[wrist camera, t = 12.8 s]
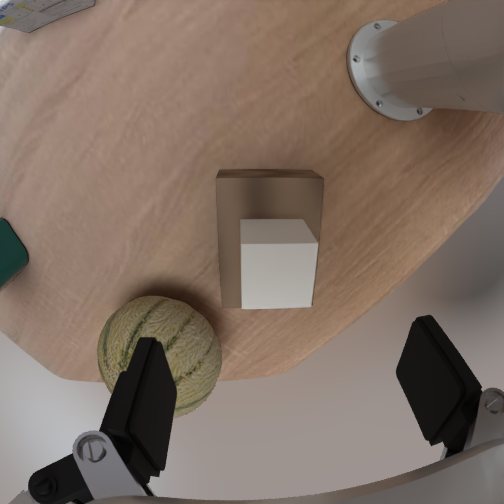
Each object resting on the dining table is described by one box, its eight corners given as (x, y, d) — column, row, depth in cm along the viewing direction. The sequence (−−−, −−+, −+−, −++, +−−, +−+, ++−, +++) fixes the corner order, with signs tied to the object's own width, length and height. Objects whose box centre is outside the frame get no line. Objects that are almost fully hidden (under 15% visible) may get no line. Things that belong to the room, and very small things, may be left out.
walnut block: (311, 170, 32) (323, 178, 27) (303, 282, 37) (312, 305, 33) (219, 170, 31) (215, 178, 27) (223, 284, 37) (222, 308, 32)
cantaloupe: (239, 345, 41) (241, 434, 28) (152, 367, 43) (132, 446, 29) (193, 257, 35) (170, 341, 22) (99, 292, 37) (51, 369, 23)
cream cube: (303, 219, 29) (318, 243, 23) (298, 274, 31) (310, 307, 26) (240, 219, 28) (241, 244, 23) (240, 275, 31) (241, 309, 25)
